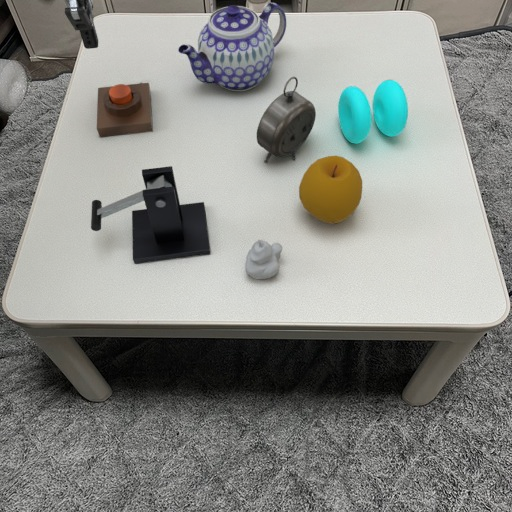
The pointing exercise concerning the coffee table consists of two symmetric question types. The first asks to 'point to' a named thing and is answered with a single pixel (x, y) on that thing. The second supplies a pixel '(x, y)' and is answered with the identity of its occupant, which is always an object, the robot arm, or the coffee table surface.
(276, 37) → the teapot
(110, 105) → the switch
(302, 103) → the alarm clock
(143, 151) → the coffee table surface
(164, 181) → the t-handle lever
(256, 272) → the grey swirled lump
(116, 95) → the button
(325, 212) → the apple
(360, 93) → the donuts
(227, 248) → the coffee table surface
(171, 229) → the lever base
